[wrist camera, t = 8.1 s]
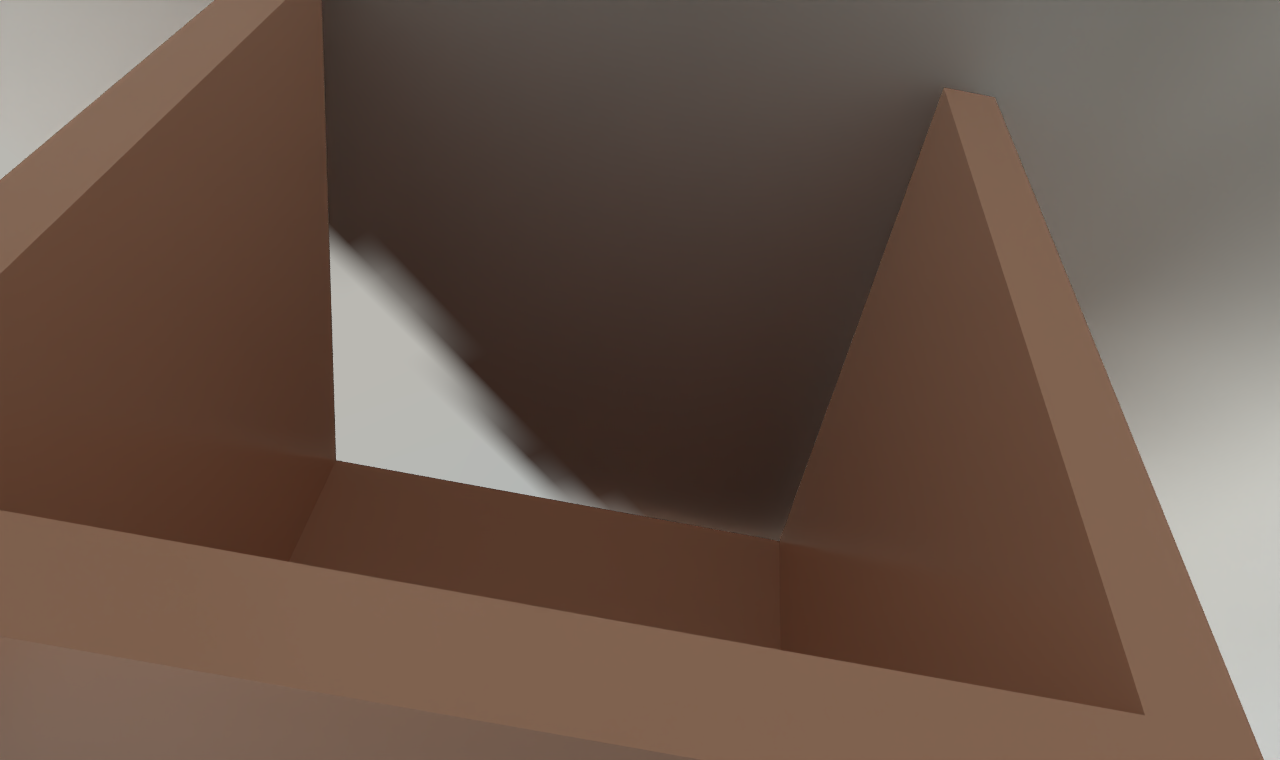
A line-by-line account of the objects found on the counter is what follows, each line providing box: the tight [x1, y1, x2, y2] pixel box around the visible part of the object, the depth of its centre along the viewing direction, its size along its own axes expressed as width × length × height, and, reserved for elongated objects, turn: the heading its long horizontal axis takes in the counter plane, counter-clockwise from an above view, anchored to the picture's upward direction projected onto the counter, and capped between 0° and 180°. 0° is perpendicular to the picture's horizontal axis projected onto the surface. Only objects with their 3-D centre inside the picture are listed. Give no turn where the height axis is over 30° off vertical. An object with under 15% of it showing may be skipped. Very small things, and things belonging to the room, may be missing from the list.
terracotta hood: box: [0, 0, 1264, 760], centre depth 9 cm, size 7×7×8 cm
